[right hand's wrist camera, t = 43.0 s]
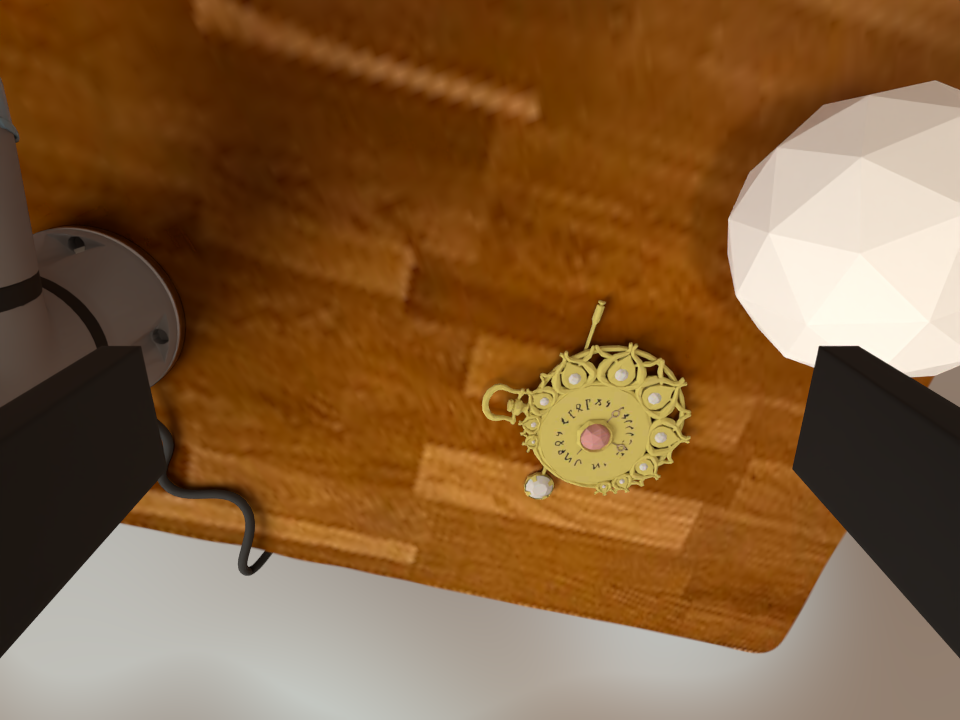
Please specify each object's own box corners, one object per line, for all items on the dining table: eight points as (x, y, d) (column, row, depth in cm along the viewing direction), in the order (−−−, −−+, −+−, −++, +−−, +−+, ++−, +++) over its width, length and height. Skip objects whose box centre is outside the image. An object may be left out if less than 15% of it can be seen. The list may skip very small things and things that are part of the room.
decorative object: (656, 532, 60) (457, 495, 57) (649, 517, 62) (457, 481, 60) (741, 340, 53) (517, 287, 50) (729, 330, 55) (514, 279, 52)
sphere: (811, 243, 58) (948, 426, 48) (635, 233, 51) (750, 447, 40) (996, 48, 44) (1251, 249, 33) (788, -5, 36) (1031, 231, 26)
